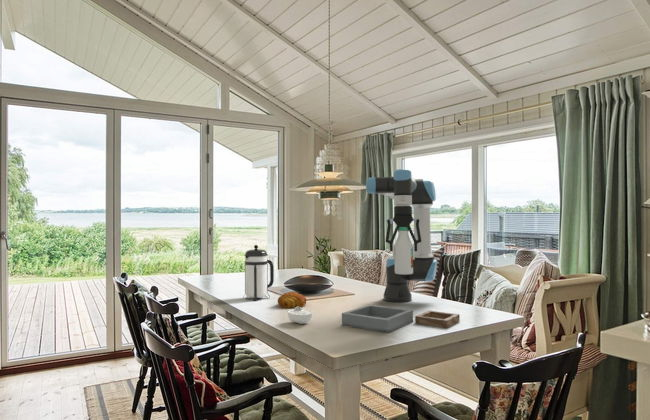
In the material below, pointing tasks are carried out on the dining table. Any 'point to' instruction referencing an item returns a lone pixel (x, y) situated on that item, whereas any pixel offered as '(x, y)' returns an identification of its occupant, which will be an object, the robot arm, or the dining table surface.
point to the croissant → (291, 300)
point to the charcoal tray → (377, 318)
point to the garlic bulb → (299, 315)
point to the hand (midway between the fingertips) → (403, 259)
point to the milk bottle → (403, 252)
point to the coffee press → (257, 273)
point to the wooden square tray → (437, 319)
